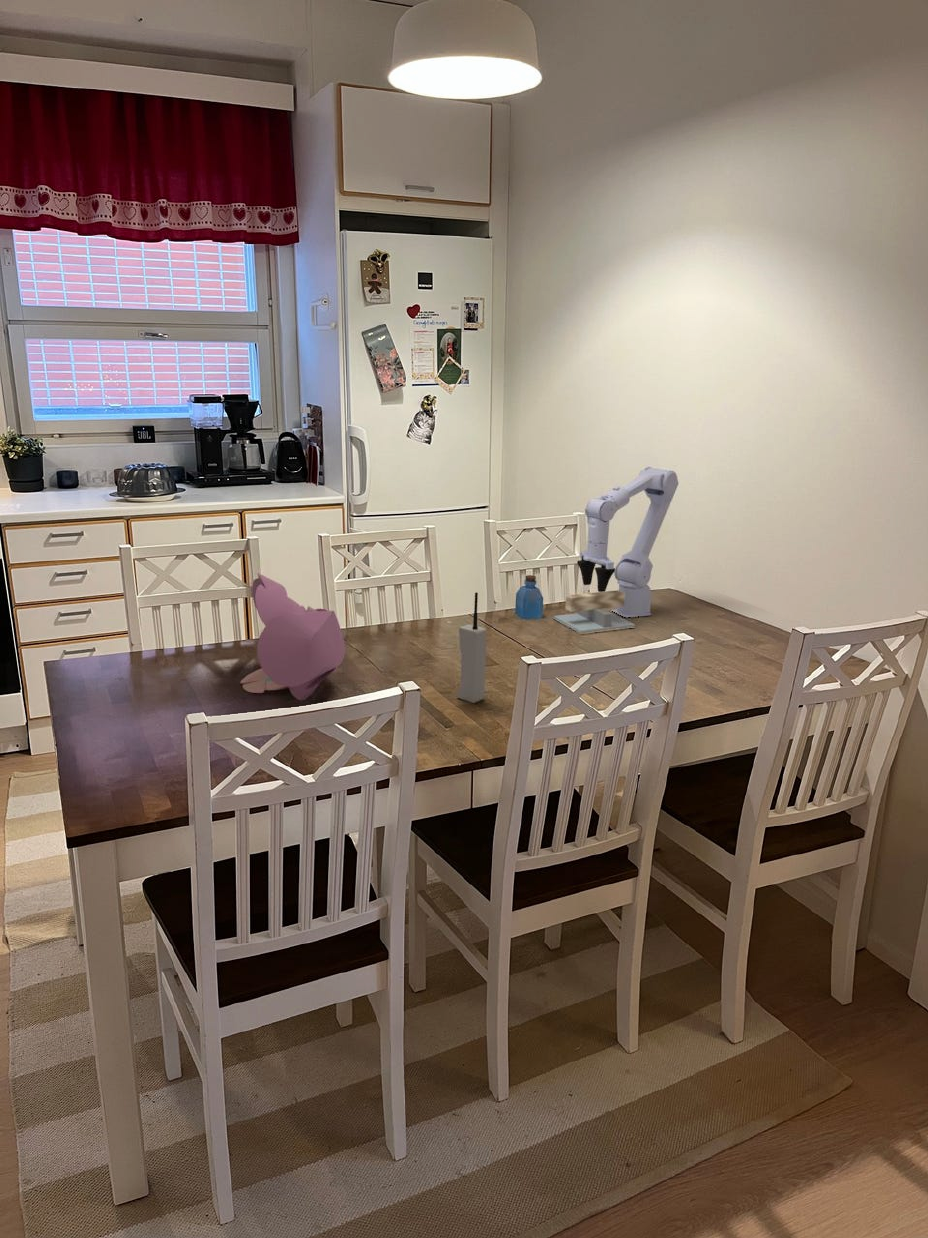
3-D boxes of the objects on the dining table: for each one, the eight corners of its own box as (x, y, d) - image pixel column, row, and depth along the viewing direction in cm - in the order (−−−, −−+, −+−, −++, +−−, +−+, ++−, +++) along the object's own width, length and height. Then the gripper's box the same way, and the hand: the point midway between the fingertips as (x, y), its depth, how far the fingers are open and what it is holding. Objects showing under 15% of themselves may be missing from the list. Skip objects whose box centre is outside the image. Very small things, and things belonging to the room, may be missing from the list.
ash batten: (618, 603, 269) (619, 590, 268) (624, 606, 266) (625, 592, 265) (565, 608, 262) (566, 595, 260) (570, 611, 259) (571, 598, 258)
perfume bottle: (515, 613, 273) (517, 574, 270) (534, 612, 275) (536, 573, 272) (522, 619, 268) (524, 579, 264) (542, 618, 269) (544, 578, 266)
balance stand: (605, 614, 276) (606, 598, 274) (634, 628, 263) (636, 611, 261) (553, 619, 268) (554, 603, 267) (580, 634, 255) (582, 617, 254)
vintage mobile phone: (467, 693, 210) (470, 588, 203) (484, 699, 207) (488, 592, 200) (456, 698, 208) (460, 591, 200) (473, 703, 205) (477, 595, 197)
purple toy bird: (226, 687, 223) (193, 576, 214) (314, 654, 234) (286, 548, 225) (278, 725, 194) (242, 598, 185) (376, 685, 205) (346, 564, 196)
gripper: (572, 537, 265) (569, 582, 268) (600, 547, 252) (596, 595, 256) (592, 535, 267) (589, 580, 271) (621, 546, 255) (617, 593, 259)
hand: (594, 588), depth 264 cm, fingers open, 7 cm apart
